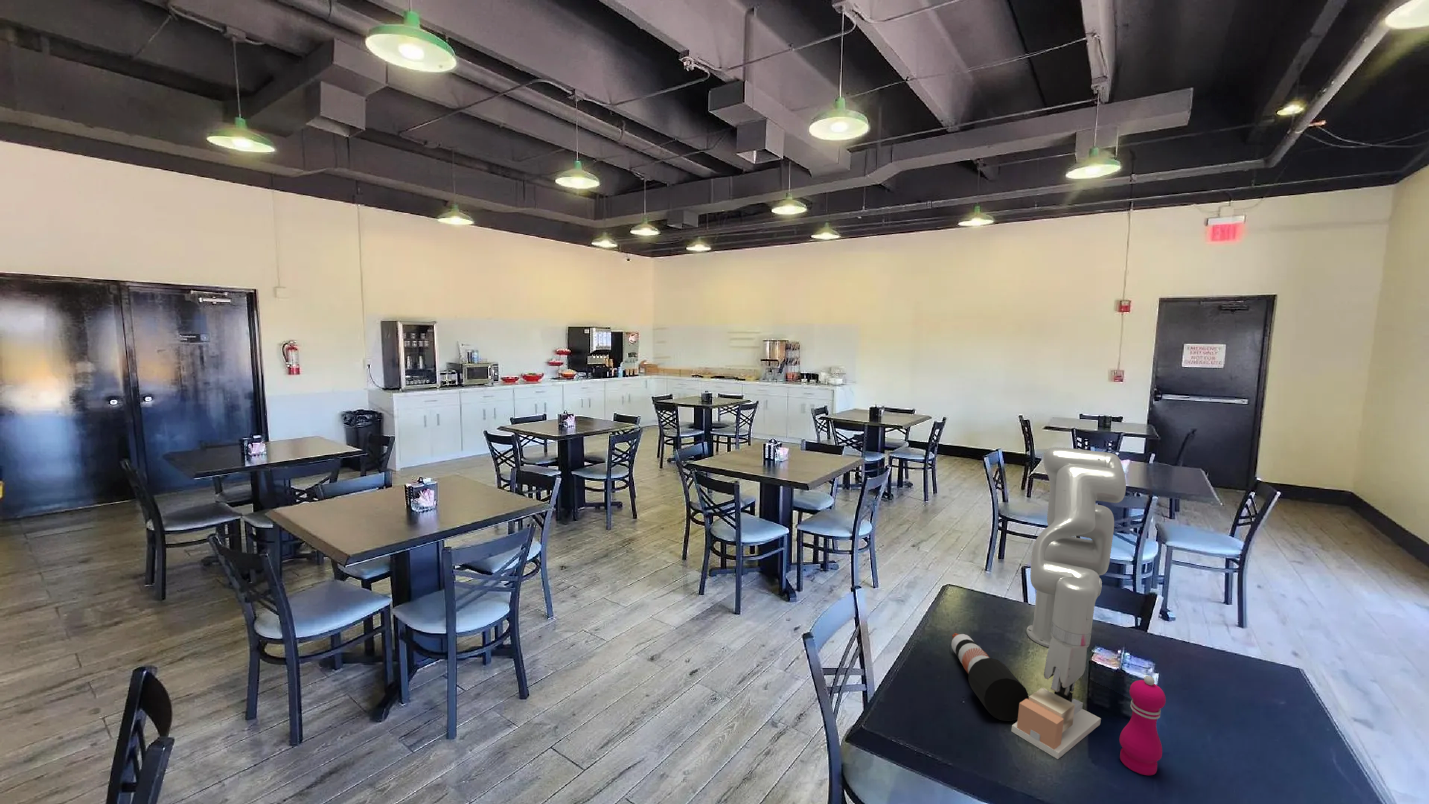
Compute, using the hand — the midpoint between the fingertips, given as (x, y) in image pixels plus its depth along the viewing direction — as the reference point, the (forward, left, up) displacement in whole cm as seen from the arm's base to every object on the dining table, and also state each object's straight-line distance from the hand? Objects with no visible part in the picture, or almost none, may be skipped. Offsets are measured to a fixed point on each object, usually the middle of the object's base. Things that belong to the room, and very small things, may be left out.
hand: (1061, 706), depth 132 cm
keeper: (+5, 0, -1) cm, 6 cm away
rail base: (+2, 0, -5) cm, 5 cm away
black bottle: (0, -20, -5) cm, 21 cm away
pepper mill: (-1, +15, -5) cm, 16 cm away
